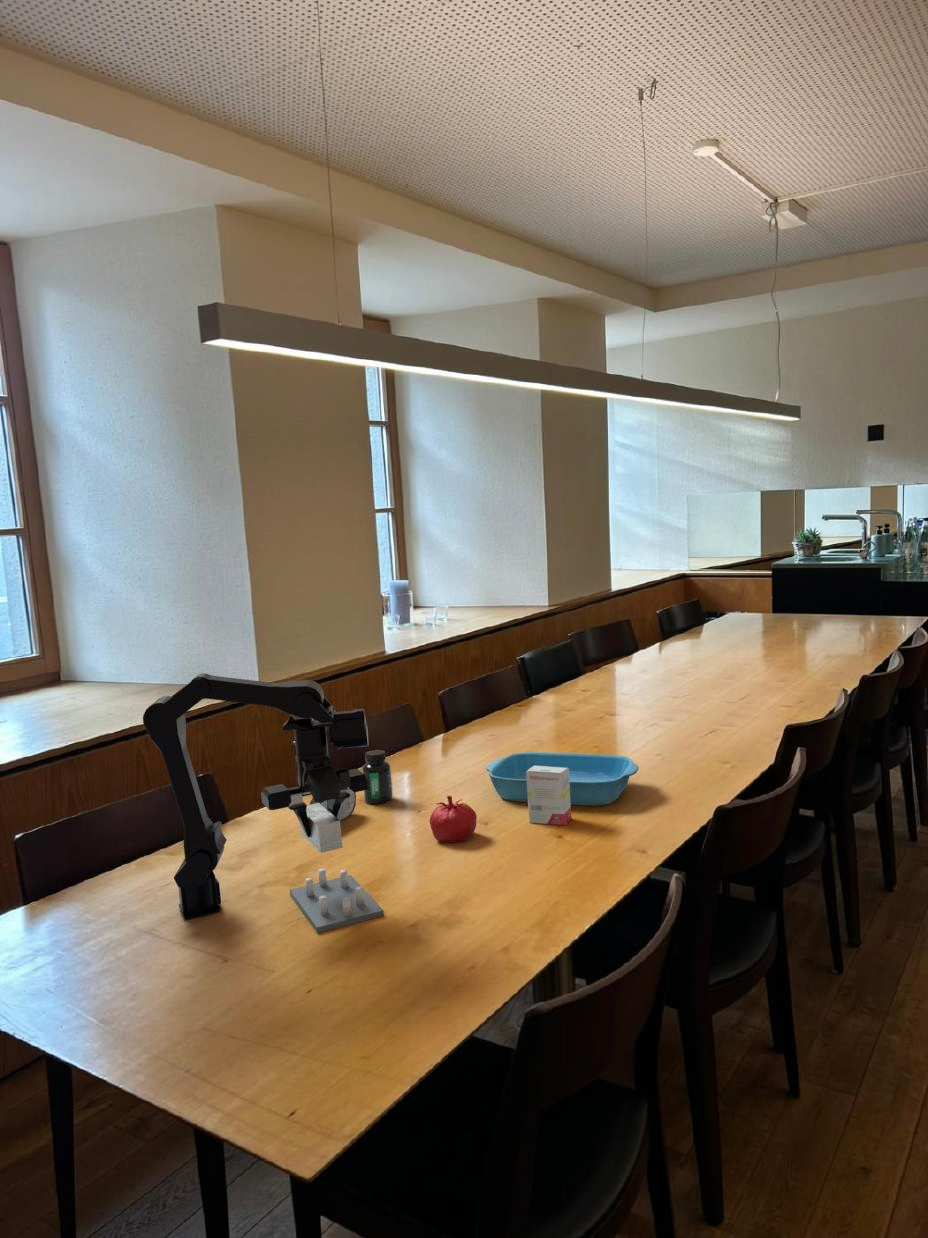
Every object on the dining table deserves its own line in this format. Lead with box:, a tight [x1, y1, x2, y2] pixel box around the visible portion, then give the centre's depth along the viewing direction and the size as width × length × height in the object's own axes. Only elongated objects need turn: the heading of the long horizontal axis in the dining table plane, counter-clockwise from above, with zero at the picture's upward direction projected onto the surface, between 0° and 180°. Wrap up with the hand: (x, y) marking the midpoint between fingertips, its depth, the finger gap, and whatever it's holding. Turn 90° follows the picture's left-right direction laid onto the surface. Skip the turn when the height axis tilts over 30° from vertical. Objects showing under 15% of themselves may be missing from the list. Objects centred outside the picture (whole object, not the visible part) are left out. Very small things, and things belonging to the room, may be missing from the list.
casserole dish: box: [485, 751, 639, 807], centre depth 219 cm, size 37×22×7 cm, turn 69°
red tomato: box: [429, 795, 478, 843], centre depth 194 cm, size 10×10×9 cm
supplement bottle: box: [361, 749, 394, 806], centre depth 222 cm, size 7×7×12 cm
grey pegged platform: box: [289, 868, 385, 934], centre depth 165 cm, size 12×18×4 cm, turn 25°
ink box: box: [526, 766, 572, 826], centre depth 201 cm, size 9×5×12 cm, turn 67°
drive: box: [299, 803, 343, 854], centre depth 167 cm, size 4×12×5 cm, turn 27°
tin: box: [308, 787, 357, 823], centre depth 208 cm, size 15×3×8 cm, turn 150°
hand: (320, 834), depth 167 cm, fingers closed on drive, 4 cm apart
